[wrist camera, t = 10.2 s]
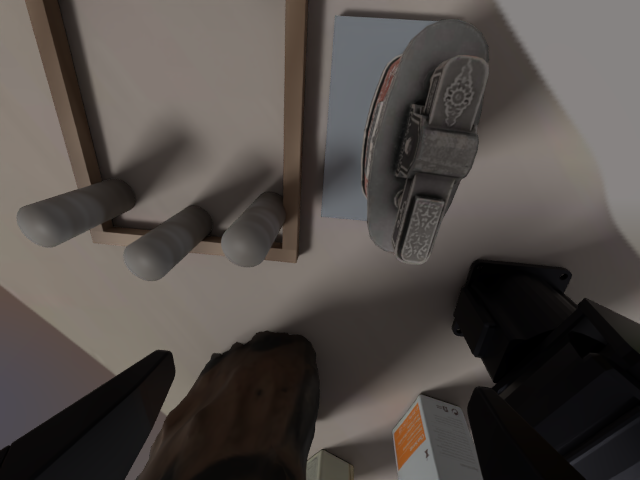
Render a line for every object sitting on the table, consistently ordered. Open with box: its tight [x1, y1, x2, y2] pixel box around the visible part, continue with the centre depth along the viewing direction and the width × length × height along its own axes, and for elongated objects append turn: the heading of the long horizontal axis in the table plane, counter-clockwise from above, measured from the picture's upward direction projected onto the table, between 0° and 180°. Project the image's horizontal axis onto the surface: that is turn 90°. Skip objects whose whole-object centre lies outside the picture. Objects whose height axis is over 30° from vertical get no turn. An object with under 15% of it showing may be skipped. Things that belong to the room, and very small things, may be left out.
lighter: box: [361, 19, 489, 265], centre depth 13 cm, size 8×3×10 cm, turn 173°
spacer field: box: [17, 0, 308, 281], centre depth 15 cm, size 15×20×6 cm
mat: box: [321, 16, 438, 221], centre depth 18 cm, size 6×11×1 cm, turn 176°
